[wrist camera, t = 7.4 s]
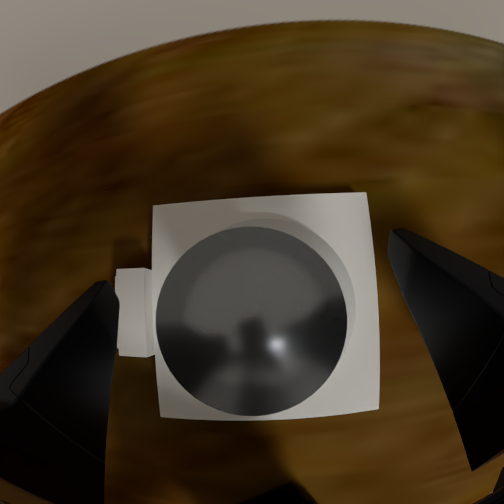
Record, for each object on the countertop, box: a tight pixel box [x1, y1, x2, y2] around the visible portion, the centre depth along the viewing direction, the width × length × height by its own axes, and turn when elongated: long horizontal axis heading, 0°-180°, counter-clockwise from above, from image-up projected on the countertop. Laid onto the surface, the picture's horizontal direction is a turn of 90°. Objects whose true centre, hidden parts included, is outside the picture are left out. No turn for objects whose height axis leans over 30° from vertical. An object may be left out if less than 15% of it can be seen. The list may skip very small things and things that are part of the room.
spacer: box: [156, 227, 347, 416], centre depth 12 cm, size 4×4×10 cm
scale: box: [115, 192, 380, 421], centre depth 17 cm, size 13×15×2 cm
